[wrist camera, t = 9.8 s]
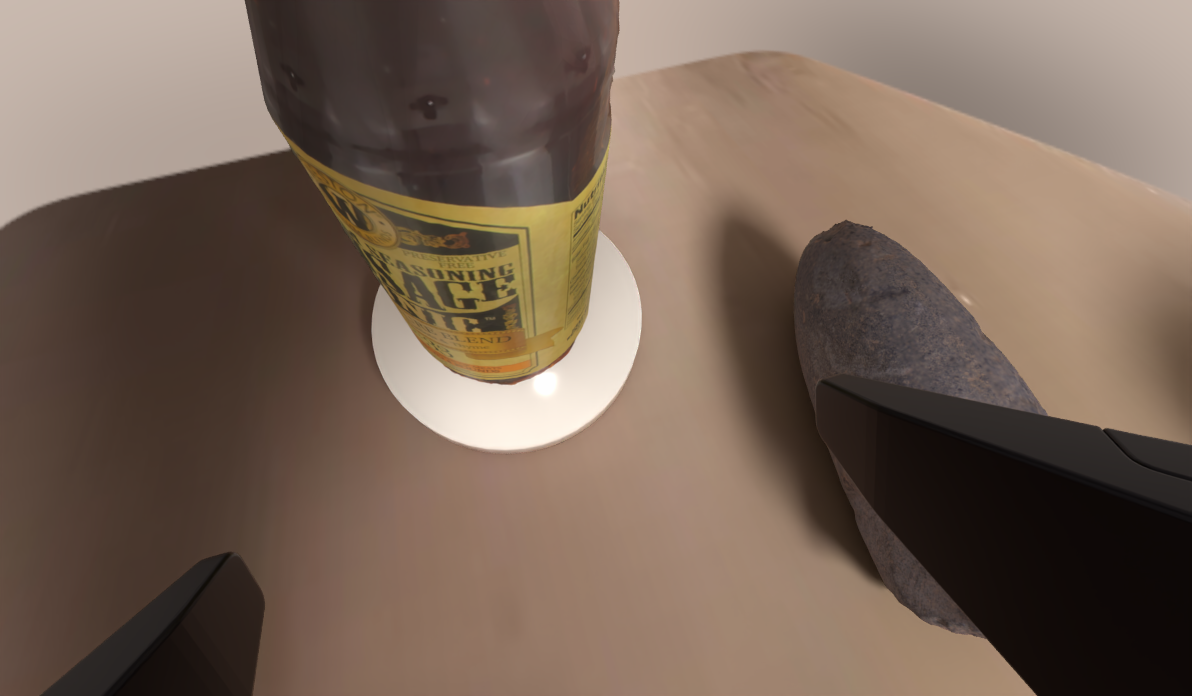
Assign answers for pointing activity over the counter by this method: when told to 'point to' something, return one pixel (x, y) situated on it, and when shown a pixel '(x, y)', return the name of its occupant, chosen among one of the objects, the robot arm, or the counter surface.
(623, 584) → the counter surface
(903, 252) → the perforated stone tool
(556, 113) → the sauce bottle
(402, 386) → the coaster
